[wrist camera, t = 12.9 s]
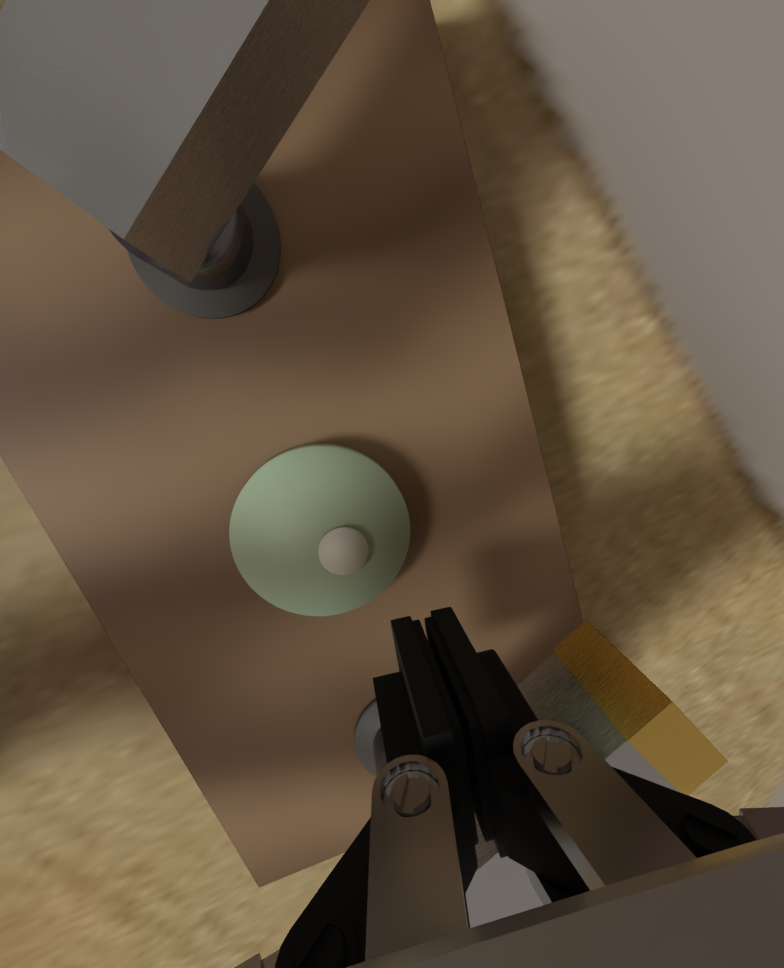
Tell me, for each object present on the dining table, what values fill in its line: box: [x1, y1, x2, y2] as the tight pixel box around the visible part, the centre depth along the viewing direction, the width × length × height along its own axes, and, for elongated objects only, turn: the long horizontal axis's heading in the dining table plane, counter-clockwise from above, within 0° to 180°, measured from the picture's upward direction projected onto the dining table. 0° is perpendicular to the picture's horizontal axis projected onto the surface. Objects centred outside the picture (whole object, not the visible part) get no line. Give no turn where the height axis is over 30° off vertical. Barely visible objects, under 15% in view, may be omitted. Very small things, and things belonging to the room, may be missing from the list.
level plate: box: [0, 0, 583, 887], centre depth 14 cm, size 24×14×3 cm, turn 19°
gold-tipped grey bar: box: [0, 0, 370, 290], centre depth 8 cm, size 8×2×6 cm, turn 143°
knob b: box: [373, 620, 728, 928], centre depth 12 cm, size 8×2×6 cm, turn 133°
